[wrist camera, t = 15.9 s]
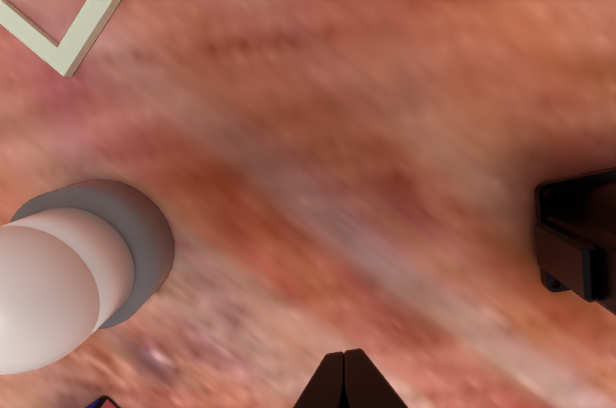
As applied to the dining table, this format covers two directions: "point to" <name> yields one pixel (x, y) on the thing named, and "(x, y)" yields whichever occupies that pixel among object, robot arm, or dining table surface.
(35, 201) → the dome base
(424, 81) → the dining table surface
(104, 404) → the puzzle cube
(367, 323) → the dining table surface
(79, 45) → the frame
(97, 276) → the dome
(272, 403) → the dining table surface
